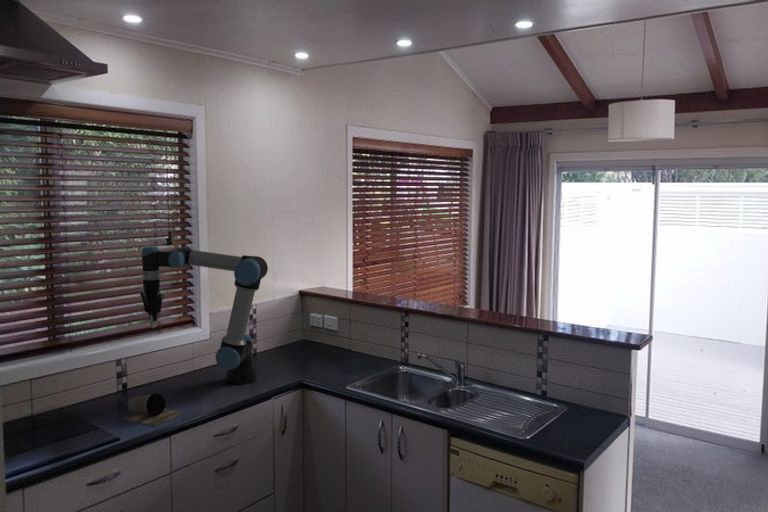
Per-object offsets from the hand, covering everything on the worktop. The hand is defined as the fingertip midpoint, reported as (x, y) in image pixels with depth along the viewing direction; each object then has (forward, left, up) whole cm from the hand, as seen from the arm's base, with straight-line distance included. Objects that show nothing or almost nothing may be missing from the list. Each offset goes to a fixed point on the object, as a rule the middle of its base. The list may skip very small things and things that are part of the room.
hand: (153, 327), depth 303 cm
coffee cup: (-17, +31, -26) cm, 44 cm away
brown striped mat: (-29, +31, -29) cm, 52 cm away
